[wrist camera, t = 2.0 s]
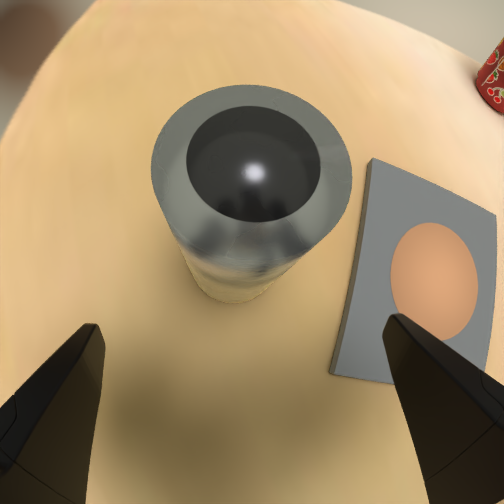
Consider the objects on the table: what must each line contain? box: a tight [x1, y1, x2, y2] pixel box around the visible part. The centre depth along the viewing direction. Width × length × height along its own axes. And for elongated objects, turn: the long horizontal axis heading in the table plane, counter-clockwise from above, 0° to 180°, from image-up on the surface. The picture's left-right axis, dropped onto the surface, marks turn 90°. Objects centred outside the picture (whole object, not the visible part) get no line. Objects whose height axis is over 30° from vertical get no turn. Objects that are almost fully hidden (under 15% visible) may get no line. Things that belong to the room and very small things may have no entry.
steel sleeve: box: [151, 85, 352, 304], centre depth 15 cm, size 6×6×13 cm
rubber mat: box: [329, 158, 497, 384], centre depth 21 cm, size 16×14×1 cm
